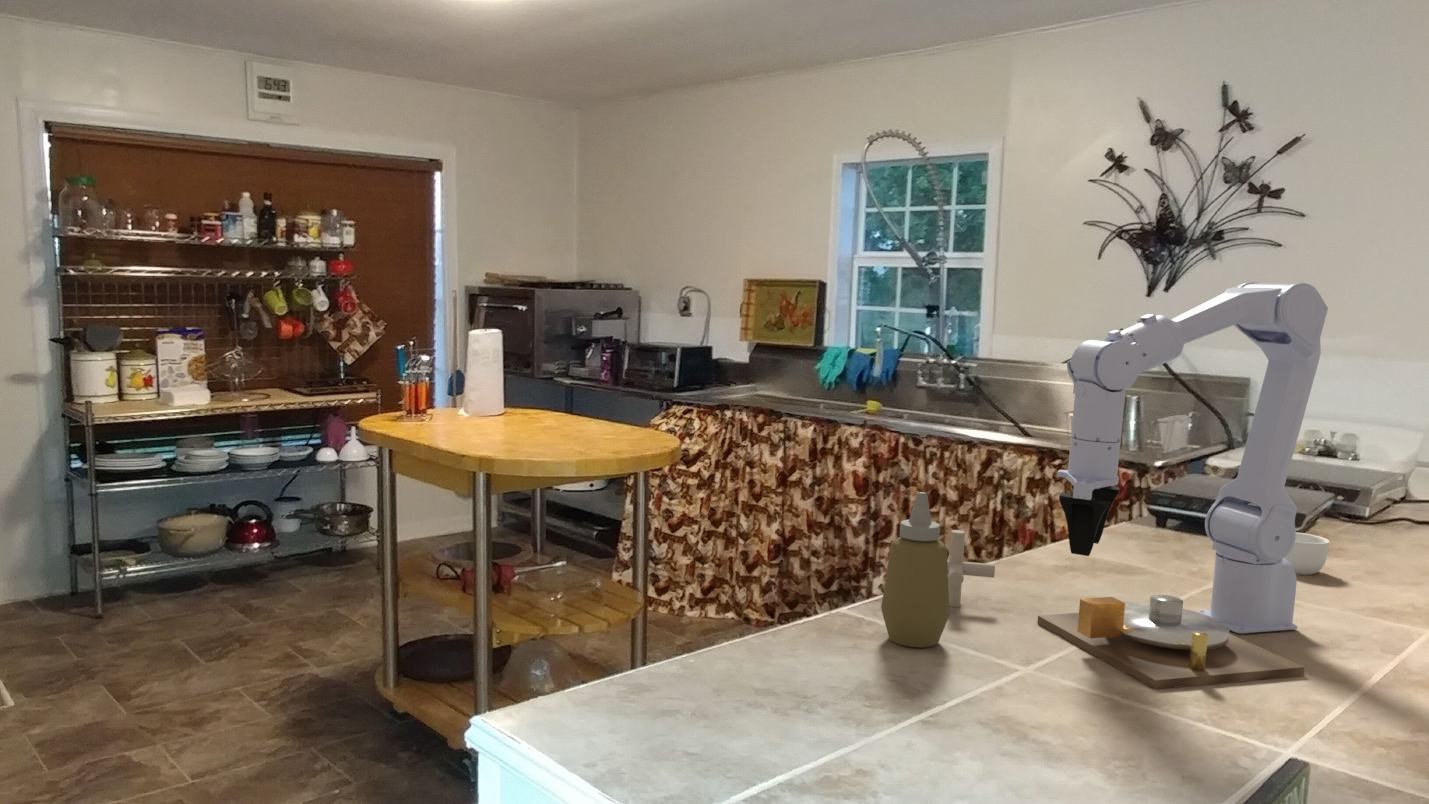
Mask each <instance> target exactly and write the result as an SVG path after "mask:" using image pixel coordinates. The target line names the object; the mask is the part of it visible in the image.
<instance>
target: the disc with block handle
mask: <svg viewBox="0 0 1429 804" xmlns="http://www.w3.org/2000/svg"><path fill="white" fill-rule="evenodd" d="M1183 604H1184V601H1183V599H1181V598H1179V597H1176V596H1172V595H1168V594H1153V595H1151V596H1150V599H1149V603H1147V602H1145V603H1143V602H1129V603H1128V602H1124V601H1122V600H1119V599H1118V598H1115V597H1113V596H1103V597H1086V598H1080V599H1079V606H1078V607H1079V609H1078V613H1079V619H1078V632H1079V633H1081V634H1083V635H1085V636H1086V637H1088V638H1104V637H1117V636H1123V637H1125V638H1128V639H1131V640H1134V641H1138V642H1141V643H1145V644H1150V645H1155V646H1160V647H1166V648H1174V649H1186V650H1191V640H1192V632H1203V633H1206V634H1208V641H1207V649H1214V648H1219V647H1222V646H1224V645H1226V644H1227V643H1228V641H1229V634H1231V633H1230V631H1231V630H1229V628H1228V627H1227V626H1226V625H1225V624H1223V623H1222V622H1220V621H1219V620H1217V619H1215V618H1212V617H1210V616H1207V615H1204V614H1201V613H1198V612H1195V611H1196V610H1195V611H1194V610H1192V609H1191V610H1190V609H1186V608H1184V607H1183V606H1184V605H1183Z"/></svg>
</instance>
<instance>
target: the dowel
mask: <svg viewBox="0 0 1429 804" xmlns="http://www.w3.org/2000/svg"><path fill="white" fill-rule="evenodd" d="M1207 641H1208V634H1206V633H1203V632H1192V640H1191V651H1190V662H1189V668H1190V669H1191V670H1194V671H1199V672H1202V671H1205V663H1206V652H1207Z"/></svg>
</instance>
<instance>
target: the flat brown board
mask: <svg viewBox="0 0 1429 804" xmlns="http://www.w3.org/2000/svg"><path fill="white" fill-rule="evenodd" d="M1078 619H1079V612H1071V613H1070V612H1069V613H1058V614H1057V613H1055V614H1053V613H1052V614H1041V615H1040V614H1039V615H1037V624H1038V625H1041V626H1042V627H1043V628H1045V629H1047V630H1049V631H1051V632H1053V633H1055V634H1056V635H1057V636H1059V637H1062V638H1063V639H1065V640H1067V641H1068V642H1070V643H1072V644H1074V645H1076V646H1077V647H1079V648H1081V649H1083V650H1084V651H1086V652H1088V653H1090V654H1091V655H1093V656H1096V657H1097V658H1098V659H1101V660H1102V661H1104V662H1106V663H1107V664H1109V665H1111V666H1113V668H1117V669H1118V670H1120V671H1121V672H1124V673H1125V674H1127V675H1128V676H1131V677H1132V678H1134V679H1136V680H1138V681H1140V682H1141V683H1143V684H1145V685H1147V686H1148V687H1151V688H1152V689H1154V690H1161V689H1172V688H1181V687H1191V686H1192V687H1193V686H1194V687H1195V686H1203V685H1213V684H1214V685H1215V684H1227V683H1236V682H1238V683H1239V682H1245V681H1246V682H1248V681H1260V680H1270V679H1280V678H1281V679H1282V678H1293V677H1302V676H1305V666H1303V665H1301V664H1299V663H1296V662H1294V661H1293V660H1290V659H1287V658H1285V657H1284V656H1280V655H1279V654H1277V653H1274V652H1271V651H1269V650H1267V649H1265V648H1262V647H1261V646H1259V645H1256V644H1254V643H1251V642H1249V641H1247V640H1245V639H1242V638H1241V637H1238V636H1235V635H1234V634H1232V633H1229V641H1228V643H1227V644H1226V645H1224V646H1222V647H1219V648H1214V649H1207V652H1206V663H1205V671H1202V672H1199V671H1194V670H1191V669H1190V668H1189V662H1190V651H1191V650H1186V649H1174V648H1166V647H1160V646H1155V645H1150V644H1145V643H1141V642H1138V641H1134V640H1131V639H1128V638H1125V637H1123V636H1117V637H1104V638H1088V637H1086V636H1085V635H1083V634H1081V633H1079V632H1078Z"/></svg>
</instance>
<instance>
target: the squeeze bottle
mask: <svg viewBox="0 0 1429 804" xmlns="http://www.w3.org/2000/svg"><path fill="white" fill-rule="evenodd" d="M929 505H930V503H929V497H928V493H927V492H924V491H920V492H919V491H918V492H916V493H915V499H914V502H913V506H912V509H911V513H910V516H909V519H904V520H901V521H900V522H899V525H900V526H899V537H897V538H895V539H894V540H893V541H892V542H891V543H890V550H889V556H888V562H887V568H886V569H887V570H886V573H885V574H886V575H885V581H884V588H883V594H882V600H881V607H880V608H881V614H882V617H883V619H884V620H883V621H884V625H885V627H886V631H887V636H888V638H889V640H890V641H892V642H893V643H895V644H897V645H900V646H904V647H910V648H921V649H922V648H930V647H934V646H936V645H938V643H940V642H939V641H940V639H941V637H942V634H943V632H944V631H945V627H946V626H947V622H948V620H949V619H950V618H949V617H950V606H949V590H948V565H947V560H948V548H947V545H945V544H944V542H943V541H940V540H939V539H940V536H941V535H940V534H941V525H940V524H939V522H936V521H934V520H933V521H932V516H931V510H930V506H929Z"/></svg>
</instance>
